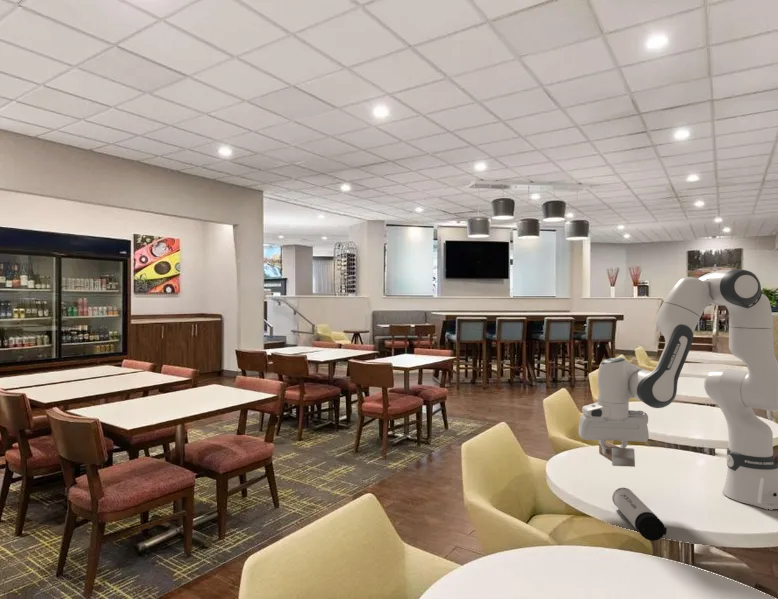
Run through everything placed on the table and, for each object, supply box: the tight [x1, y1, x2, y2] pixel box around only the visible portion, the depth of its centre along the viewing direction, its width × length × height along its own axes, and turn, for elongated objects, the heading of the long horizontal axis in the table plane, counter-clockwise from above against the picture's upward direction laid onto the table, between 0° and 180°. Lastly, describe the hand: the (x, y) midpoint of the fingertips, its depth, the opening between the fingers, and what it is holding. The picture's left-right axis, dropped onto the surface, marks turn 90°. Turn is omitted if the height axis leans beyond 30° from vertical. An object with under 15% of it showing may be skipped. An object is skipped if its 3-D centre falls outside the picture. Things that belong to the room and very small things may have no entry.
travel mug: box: [611, 487, 667, 542], centre depth 134 cm, size 6×7×20 cm
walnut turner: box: [598, 440, 636, 468], centre depth 153 cm, size 6×19×5 cm, turn 173°
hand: (612, 454), depth 153 cm, fingers closed on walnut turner, 3 cm apart
